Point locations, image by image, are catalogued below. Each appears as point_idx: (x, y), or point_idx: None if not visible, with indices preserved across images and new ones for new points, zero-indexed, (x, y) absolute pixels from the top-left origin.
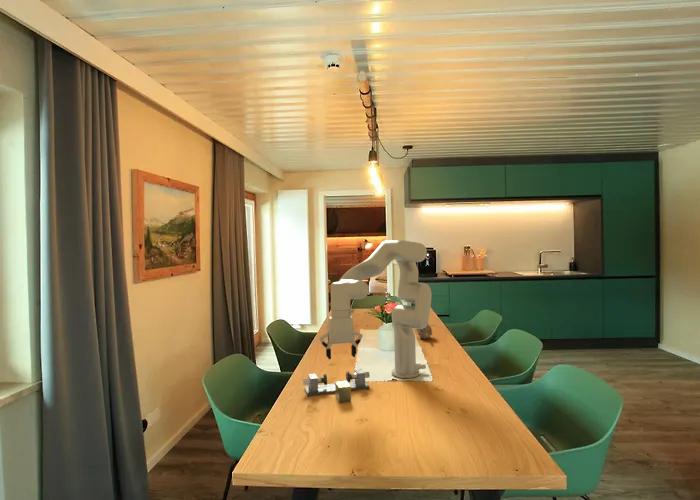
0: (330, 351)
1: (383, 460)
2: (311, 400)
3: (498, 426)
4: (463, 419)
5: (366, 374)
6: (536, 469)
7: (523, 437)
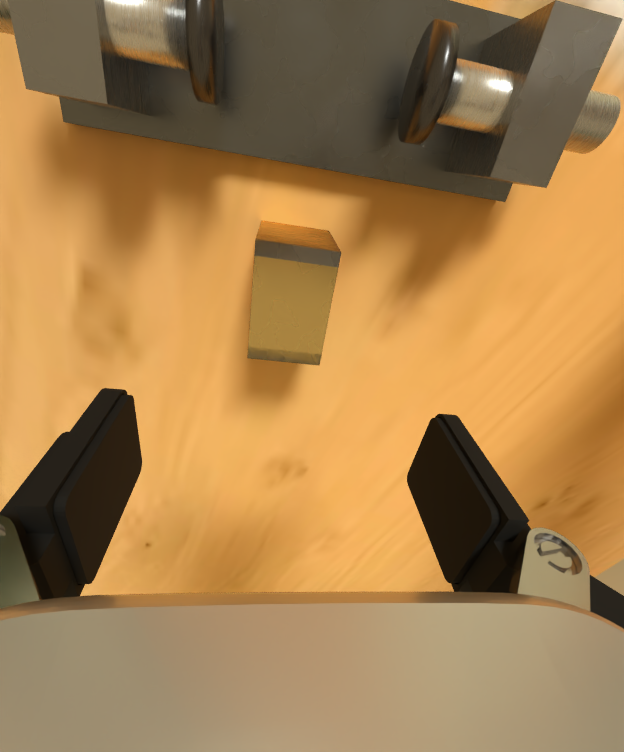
0: (97, 557)
1: None
2: (102, 211)
3: None
4: None
5: (569, 144)
6: None
7: None
